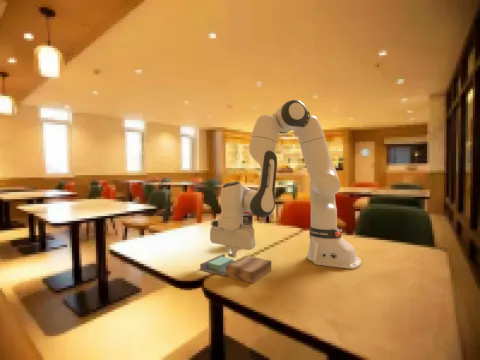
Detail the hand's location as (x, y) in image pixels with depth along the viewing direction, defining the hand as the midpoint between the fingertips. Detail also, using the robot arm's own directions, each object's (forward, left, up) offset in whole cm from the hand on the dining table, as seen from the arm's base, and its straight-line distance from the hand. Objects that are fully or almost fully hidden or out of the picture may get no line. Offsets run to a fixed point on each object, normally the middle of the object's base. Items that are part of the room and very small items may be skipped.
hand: (232, 256), depth 111 cm
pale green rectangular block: (+6, 0, -3) cm, 6 cm away
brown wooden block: (-8, 0, -5) cm, 9 cm away
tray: (+4, 0, -5) cm, 7 cm away
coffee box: (+15, -32, -5) cm, 36 cm away
